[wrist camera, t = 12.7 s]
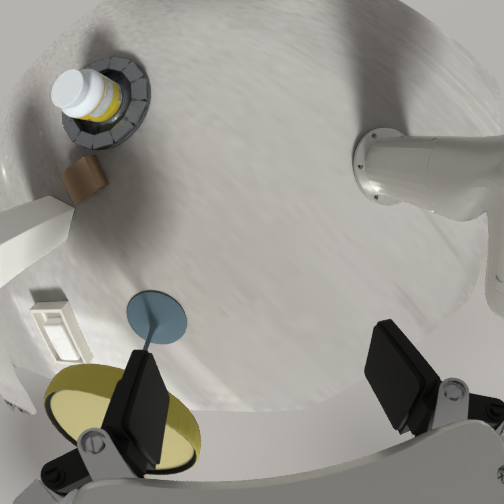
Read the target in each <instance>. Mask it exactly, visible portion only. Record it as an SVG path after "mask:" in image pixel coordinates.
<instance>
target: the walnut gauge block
mask: <svg viewBox="0 0 504 504" xmlns="http://www.w3.org/2000/svg"><path fill="white" fill-rule="evenodd" d="M60 176H61V179H62V181H63V183H64V185H65V187H66V190H67V192H68V194H69V196H70V198H71V200H72V202H73V204H76V203H78V202H81V201H84V200H86V199H87V198H89V197H90V196H91V195H93V194H94V193H96V192H97V191H98V190H100V189H101V188H103V187H104V186H106V185H107V184H109V183H108V181H107V178H106V176H105V174H104V172H103V170H102V168H101V166H100V164H99V162H98V159H97V157H96V155H94V156H83V157H82V158H80V159H79V160H78V161H77V162H75V163H74V164H73V165H72V166H71V167H69V168H68V169H67V170H66V171H65V172H63V173H62V174H61V175H60Z"/></svg>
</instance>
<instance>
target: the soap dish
mask: <svg viewBox="0 0 504 504" xmlns="http://www.w3.org/2000/svg"><path fill="white" fill-rule="evenodd" d="M30 313H31V315H32V317H33V319H34V322H35V324H36V326H37V328H38V330H39V332H40V334H41V336H42V338H43V340H44V342H45V344H46V346H47V348H48V350H49V352H50V354H51V355H52V357H53V359H54V361H55V362H56V363H58V364H68V365H77V364H90V362H91V360H92V358H93V355H92V353H91V351H90V349H89V347H88V345H87V343H86V341H85V339H84V336H83V334H82V332H81V330H80V327H79V325H78V323H77V320H76V318H75V316H74V313H73V311H72V308H71V306H70V303H69V301H57V302H37V303H36V304H35V305H34V306H33V307H32V308H31V309H30ZM49 318H62V319H63V321H64V323H65V326H66V328H67V330H68V332H69V334H70V336H71V339H72V341H73V343H74V345H75V347H76V349H77V351H78V353H79V355H80V358H79V360H63V359H61V358H60V357H59V355H58V353H57V351H56V350H55V348H54V346H53V344H52V342H51V341H50V339H49V337H48V335H47V333H46V331H45V329H44V326H43V325H44V323H45V322H46V321H47V319H49Z"/></svg>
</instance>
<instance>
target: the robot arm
mask: <svg viewBox="0 0 504 504" xmlns="http://www.w3.org/2000/svg"><path fill="white" fill-rule="evenodd" d="M372 136H373V137H372ZM358 165H359V168H358ZM353 168H354V174H355V178H356V181H357V184H358V185H359V187H360V189H361V191H362V192H363V193H364V194H365V196H367V197H368V198H369V199H370V200H372V201H374V202H375V203H378V204H381V205H386V206H390V205H396V204H399V203H400V202H402V201H403V202H406V203H409V204H411V205H414V206H417V207H420V208H423V209H425V210H428V211H431V212H434V213H436V214H439V215H441V216H444V217H447V218H449V219H452V220H455V221H470V220H473V219H475V218H477V217H479V216H480V215H482V214H483V213H484V212H487V216H488V234H489V238H488V256H487V257H488V258H487V268H486V278H485V295H486V300H487V303H488V305H489V307H490V309H491V310H492V312H493V313H495V315H496V316H497V317H499V318H501V319H502V320H504V135H500V136H488V137H455V136H405V135H403V134H402V133H401V132H399V131H397V130H395V129H392V128H377V129H374V130H371V131H370V132H368V133H367V134H365V135H364V137H363V138H362V139H361V140H360V142H359V143H358V145H357V148H356V151H355V154H354V160H353ZM374 195H375V197H374ZM364 373H365V376H366V378H367V380H368V382H369V384H370V385H371V387H372V389H373V391H374V393H375V394H376V396H377V398H378V400H379V402H380V404H381V405H382V407H383V409H384V411H385V413H386V415H387V417H388V419H389V421H390V422H391V424H392V426H393V428H394V429H395V430H398V431H399V433H400V435H401V434H403V433H406V432H408V431H411V433H412V439H410V440H408V441H405V442H403V443H400V444H398V445H395V446H393V447H390V448H388V449H385V450H382V451H379V452H377V453H374V454H371V455H368V456H365V457H362V458H359V459H356V460H352V461H349V462H345V463H342V464H338V465H334V466H330V467H326V468H322V469H318V470H313V471H308V472H303V473H298V474H292V475H286V476H279V477H272V478H264V479H254V480H242V481H221V482H196V481H195V482H194V481H193V482H192V481H169V480H158V479H147V478H146V477H145V474H146V469H148V470H156V464H157V465H159V464H160V460H161V453H162V446H163V440H164V433H165V427H166V420H167V414H168V409H169V403H170V397H169V393H168V391H167V389H166V386H165V384H164V382H163V379H162V377H161V375H160V372H159V370H158V367H157V365H156V362H155V360H154V357H153V355H152V353H149V352H148V351H147V350H133V351H132V354H131V356H130V358H129V361H128V363H127V366H126V369H125V371H124V374H123V376H122V379H120V380H118V382H117V384H116V387H115V389H114V392H113V395H112V397H111V400H110V403H109V405H108V408H107V411H106V414H105V417H104V419H103V422H102V425H101V428H89V429H86V430H85V431H83V432H82V433H81V434H80V435H79V438H78V440H77V447H78V448H76V449H74V450H72V451H70V452H68V453H66V454H64V455H63V456H61V457H58V458H56V459H54V460H52V461H50V462H48V463H47V464H45V465H44V466H43V468H42V470H41V479H40V480H38V479H36V480H35V481H34V482H33V483H32V484H31V485H29V486H28V487H27V488H26V489H25V490H24V491H23V492H22V493H21V494H20V495H19V496H18V497H17V498H16V499H15V500H14V502H13V504H504V402H503V401H501V400H500V399H497V398H492V397H487V396H481V395H477V394H471V393H469V388H468V387H467V385H466V384H465V382H463V381H462V380H460V379H457V378H448V379H445V380H444V381H443V382H442V381H441V380H440V377H439V376H438V375H437V374H436V372H435V371H434V370H433V369H432V367H431V366H430V365H429V364H428V362H427V361H426V360H425V359H424V357H423V356H422V355H421V354H420V352H419V351H418V350H417V349H416V348H415V346H414V345H413V344H412V343H411V342H410V341H409V339H408V338H407V337H406V336H405V335H404V333H403V332H402V331H401V330H400V329H399V328H398V326H397V325H396V324H395V323H394V322H393V321H392V320H391V319H387V320H383V321H379V322H378V323H377V325H376V326H374V329H373V334H372V338H371V343H370V348H369V352H368V357H367V361H366V365H365V369H364Z"/></svg>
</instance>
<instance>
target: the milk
mask: <svg viewBox="0 0 504 504" xmlns="http://www.w3.org/2000/svg"><path fill="white" fill-rule="evenodd" d="M74 209H75V208H73V207H71V206H69V205H67V204H65V203H63V202H62V201H60V200H58V199H56V198H54V197H52V196H50V195H49V196H46V197H43V198H40V199H37V200H34V201H31V202H28V203H25V204H22V205H20V206H17V207H14V208H12V209H9V210H6V211H4V212H1V213H0V288H1V287H2V286H3V285H4V284H6V283H7V282H8V281H10V280H11V279H12V278H13V277H15V276H16V275H17V274H19V273H20V272H22V271H23V270H24V269H26V268H27V267H28V266H30V265H31V264H33V263H34V262H35V261H37V260H38V259H40V258H41V257H43V256H44V255H46V254H47V253H48V252H50V251H51V250H53V249H54V248H56V247H58V246H59V245H61V244H62V243H64V242H65V241H67V238H68V233H69V229H70V225H71V221H72V217H73V213H74Z"/></svg>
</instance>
